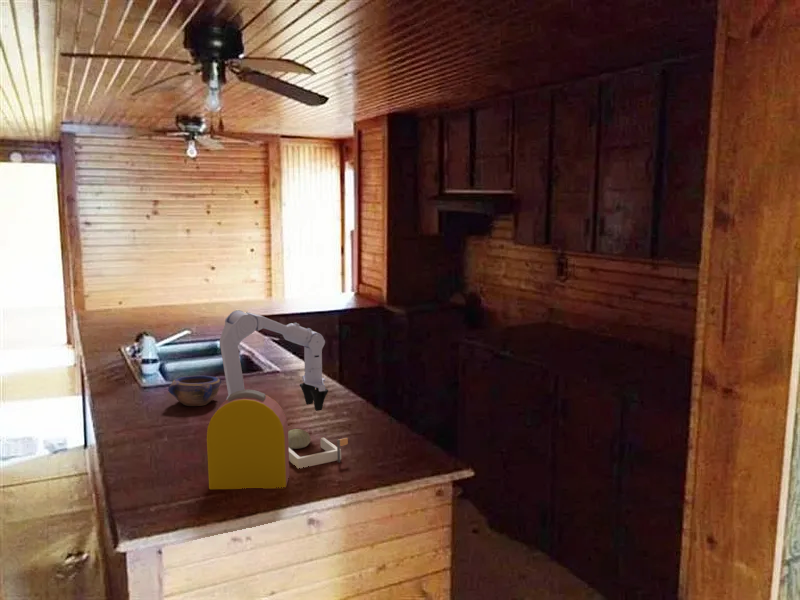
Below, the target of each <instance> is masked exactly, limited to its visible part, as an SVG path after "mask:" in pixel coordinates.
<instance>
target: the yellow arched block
mask: <svg viewBox="0 0 800 600" xmlns="http://www.w3.org/2000/svg"><path fill="white" fill-rule="evenodd" d="M206 431H207V432H206V449H207V451H206V453H207V471H208V473H207V474H208V489H209V490H246V488H263V489H284V488H283V487H285V488H287V485H288V482H289V479H290V461H289V443H288V431H289V425H288V418H287V416H286V414H285V411H284V409H283V408H282V407H281V405H280V404H279V403H278V401H276V400H275V399H273V398H272V397H271V396H269V395H266V393H264V392H261V391H259V390H254V389H248V388H247V389H245V390H240V391H237V392H235V393H232V394H231V395H230V396H229V397H228V399H227V400H226V399H225V400H224V401H223V402H222V403H221V404H220V406H219V408H217V410H216V411H215V413H214V414H213V415H212V417H211V418H210V420H209V423H208V425H207V430H206ZM288 478H289V479H288ZM276 487H277V488H276ZM278 487H279V488H278ZM281 487H282V488H281ZM242 488H243V489H242ZM244 488H245V489H244Z"/></svg>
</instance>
